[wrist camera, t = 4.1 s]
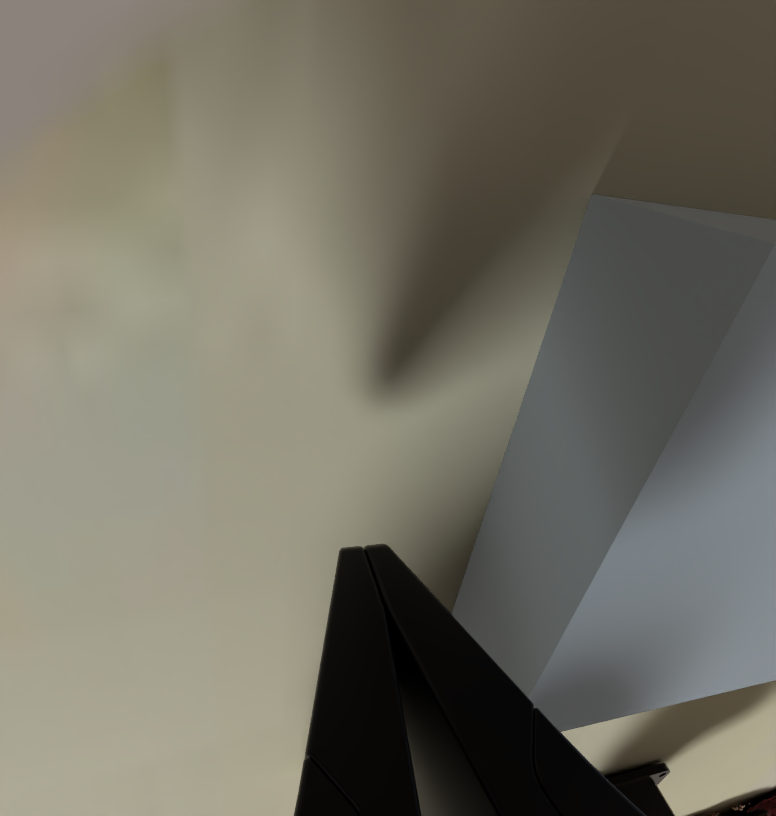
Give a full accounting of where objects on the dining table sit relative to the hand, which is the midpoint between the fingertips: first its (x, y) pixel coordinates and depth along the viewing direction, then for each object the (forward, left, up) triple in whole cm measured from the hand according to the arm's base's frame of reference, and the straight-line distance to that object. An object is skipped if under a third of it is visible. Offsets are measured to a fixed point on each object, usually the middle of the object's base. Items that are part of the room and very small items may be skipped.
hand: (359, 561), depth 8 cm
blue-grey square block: (0, -10, -3) cm, 11 cm away
